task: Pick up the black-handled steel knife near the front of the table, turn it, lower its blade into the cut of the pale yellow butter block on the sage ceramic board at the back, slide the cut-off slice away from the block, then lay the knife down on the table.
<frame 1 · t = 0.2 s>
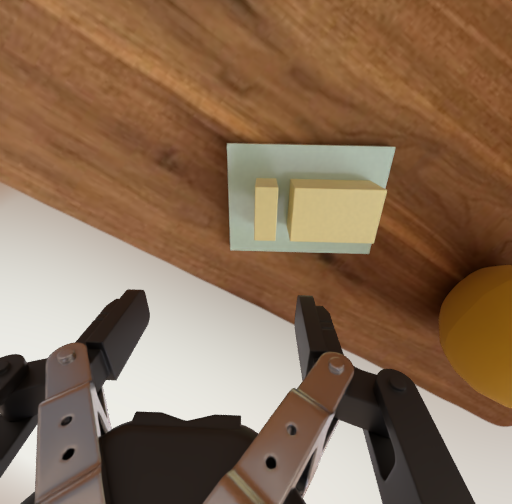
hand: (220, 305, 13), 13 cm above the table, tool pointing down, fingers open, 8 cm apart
apple: (471, 291, 29), on the table
butter block: (326, 204, 23), point 1 cm above the table, touching butter board
butter slice: (265, 202, 23), point 1 cm above the table, touching butter board
butter board: (303, 200, 24), on the table
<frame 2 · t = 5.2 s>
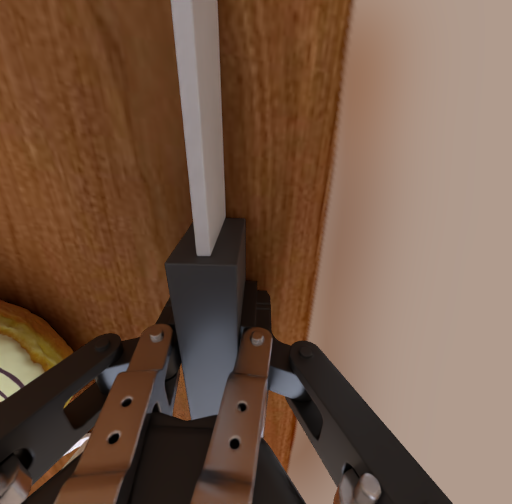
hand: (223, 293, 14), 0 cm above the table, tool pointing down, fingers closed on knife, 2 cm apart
decorated donut: (9, 341, 17), on the table
knife: (224, 292, 14), on the table, touching gripper
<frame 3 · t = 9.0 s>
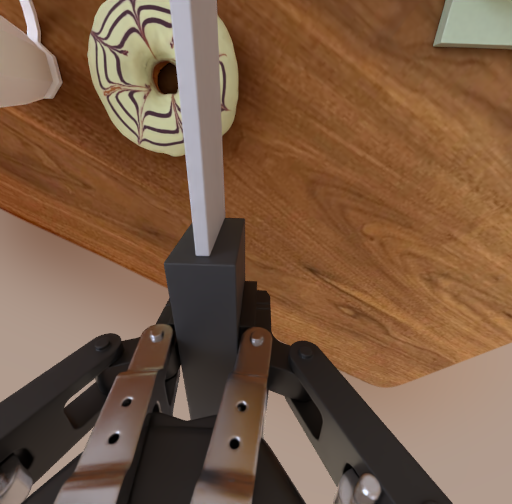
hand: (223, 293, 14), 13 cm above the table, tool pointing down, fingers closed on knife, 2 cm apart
decorated donut: (177, 83, 21), on the table
knife: (224, 292, 14), point 13 cm above the table, touching gripper
cup: (37, 49, 20), on the table
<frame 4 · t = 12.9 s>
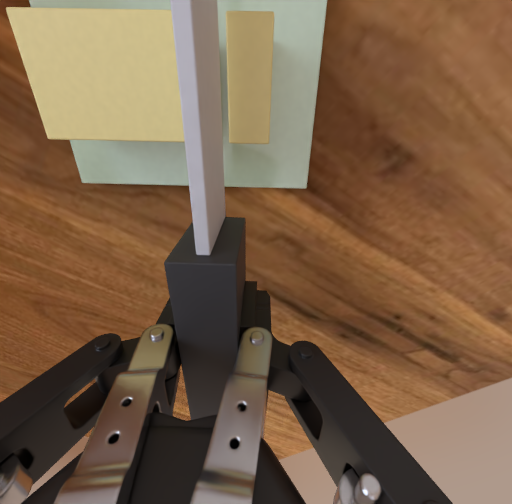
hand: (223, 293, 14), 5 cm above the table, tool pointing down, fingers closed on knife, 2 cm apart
butter block: (147, 90, 13), point 1 cm above the table, touching butter board
butter slice: (252, 92, 13), point 1 cm above the table, touching butter board
knife: (224, 292, 14), point 5 cm above the table, touching gripper
butter board: (189, 92, 14), on the table
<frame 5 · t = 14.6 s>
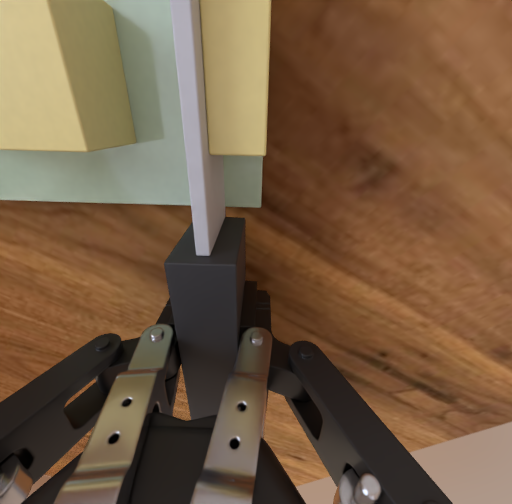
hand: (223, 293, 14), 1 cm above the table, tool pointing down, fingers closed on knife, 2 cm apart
butter block: (39, 80, 10), point 1 cm above the table, touching butter board
butter slice: (244, 84, 10), point 1 cm above the table, touching butter board, knife
knife: (224, 292, 14), point 1 cm above the table, touching butter slice, gripper
butter board: (103, 84, 11), on the table
when the fingers open (0 cm above the table, at t = 20.8 s): knife stays where it is, on the table.
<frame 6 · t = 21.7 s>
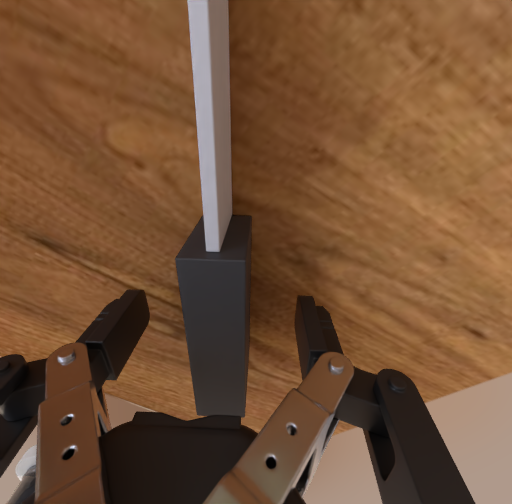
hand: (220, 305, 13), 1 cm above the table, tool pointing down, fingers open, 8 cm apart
knife: (229, 289, 15), on the table
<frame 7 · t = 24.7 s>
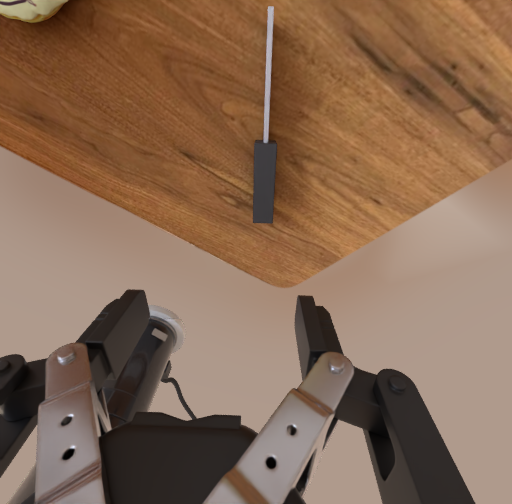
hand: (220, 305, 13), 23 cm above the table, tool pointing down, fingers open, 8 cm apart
knife: (264, 178, 33), on the table
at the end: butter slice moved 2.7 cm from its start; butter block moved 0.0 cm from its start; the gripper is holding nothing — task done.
